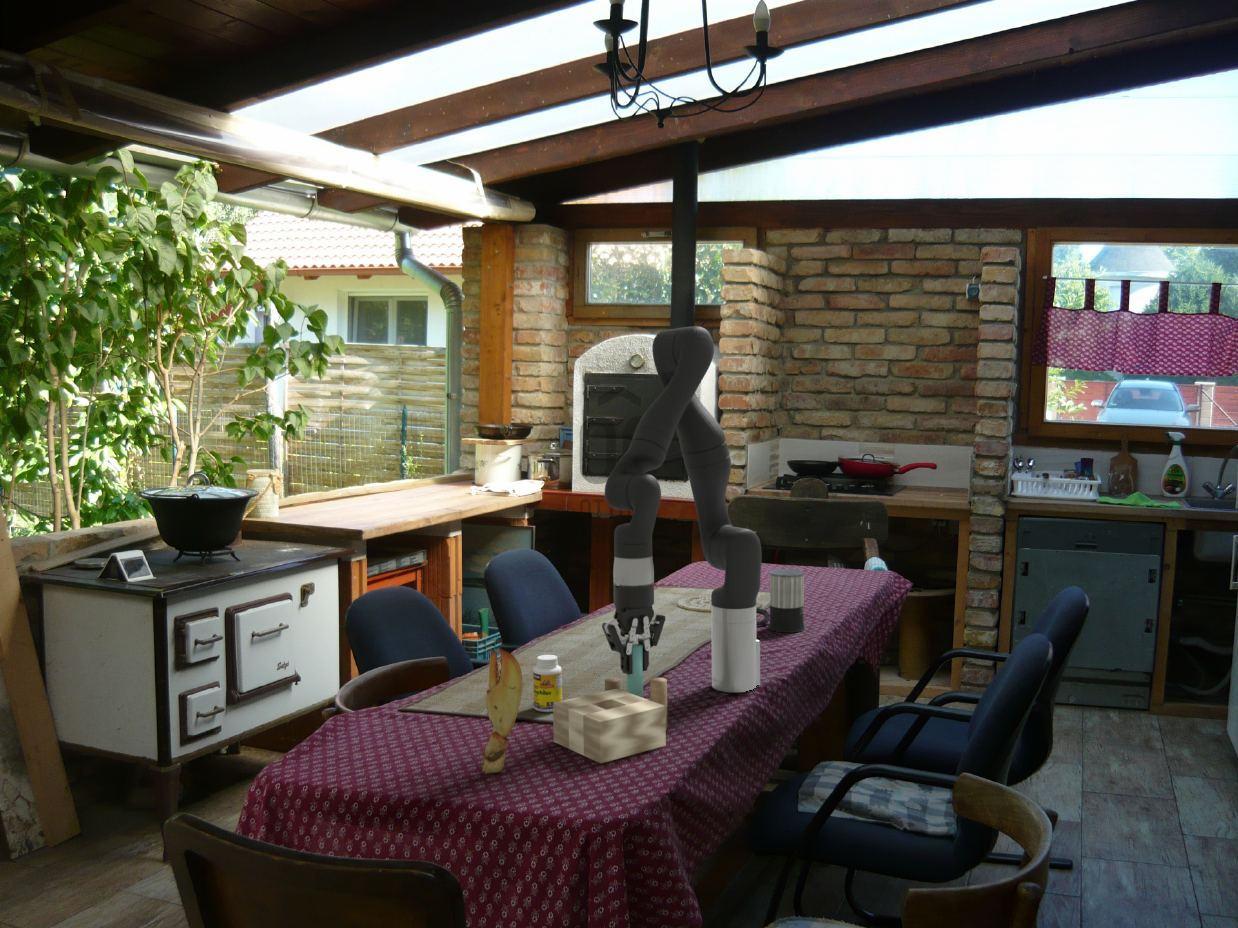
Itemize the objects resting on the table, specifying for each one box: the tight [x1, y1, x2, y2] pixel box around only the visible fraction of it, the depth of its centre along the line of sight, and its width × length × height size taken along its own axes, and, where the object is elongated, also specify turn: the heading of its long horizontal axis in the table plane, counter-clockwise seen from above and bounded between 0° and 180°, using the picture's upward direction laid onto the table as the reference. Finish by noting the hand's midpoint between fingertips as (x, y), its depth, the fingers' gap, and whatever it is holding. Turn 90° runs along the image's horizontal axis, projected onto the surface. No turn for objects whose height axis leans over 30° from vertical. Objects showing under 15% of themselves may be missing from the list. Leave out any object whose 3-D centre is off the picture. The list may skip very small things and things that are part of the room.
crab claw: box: [481, 648, 523, 775], centre depth 174 cm, size 7×5×20 cm
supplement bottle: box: [532, 654, 563, 713], centre depth 208 cm, size 6×6×10 cm
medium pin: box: [649, 677, 668, 731], centre depth 195 cm, size 3×3×9 cm
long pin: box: [626, 643, 644, 698], centre depth 201 cm, size 3×3×14 cm
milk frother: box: [756, 568, 806, 633], centre depth 276 cm, size 14×16×15 cm
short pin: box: [604, 677, 622, 691], centre depth 207 cm, size 3×3×6 cm
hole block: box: [552, 689, 667, 764], centre depth 187 cm, size 14×14×7 cm
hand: (634, 671), depth 200 cm, fingers closed on long pin, 3 cm apart
